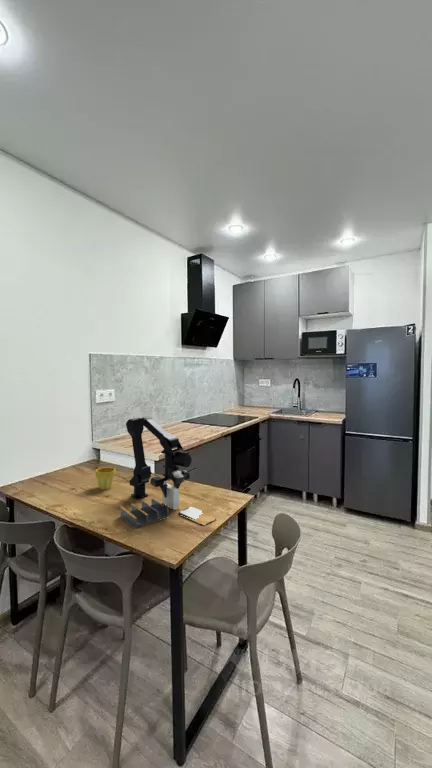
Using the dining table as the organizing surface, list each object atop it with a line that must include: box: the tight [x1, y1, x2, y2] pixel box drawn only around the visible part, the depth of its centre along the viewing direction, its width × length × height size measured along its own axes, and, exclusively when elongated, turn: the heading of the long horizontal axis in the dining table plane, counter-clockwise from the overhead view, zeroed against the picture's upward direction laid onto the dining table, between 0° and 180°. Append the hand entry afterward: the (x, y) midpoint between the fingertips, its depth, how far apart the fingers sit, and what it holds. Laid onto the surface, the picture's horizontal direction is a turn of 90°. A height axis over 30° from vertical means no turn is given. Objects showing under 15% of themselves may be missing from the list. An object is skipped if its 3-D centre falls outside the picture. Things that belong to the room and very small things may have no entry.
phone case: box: [178, 506, 203, 520], centre depth 140 cm, size 9×2×16 cm
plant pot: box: [95, 466, 117, 491], centre depth 173 cm, size 10×10×10 cm
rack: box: [119, 498, 170, 529], centre depth 139 cm, size 14×16×4 cm
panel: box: [161, 483, 180, 510], centre depth 151 cm, size 10×3×9 cm, turn 40°
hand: (170, 496), depth 151 cm, fingers open, 5 cm apart
